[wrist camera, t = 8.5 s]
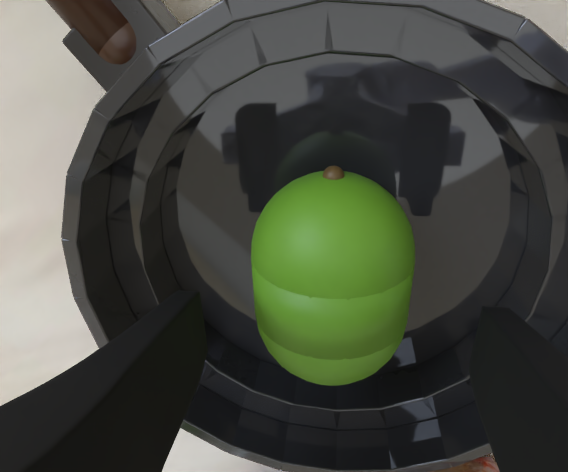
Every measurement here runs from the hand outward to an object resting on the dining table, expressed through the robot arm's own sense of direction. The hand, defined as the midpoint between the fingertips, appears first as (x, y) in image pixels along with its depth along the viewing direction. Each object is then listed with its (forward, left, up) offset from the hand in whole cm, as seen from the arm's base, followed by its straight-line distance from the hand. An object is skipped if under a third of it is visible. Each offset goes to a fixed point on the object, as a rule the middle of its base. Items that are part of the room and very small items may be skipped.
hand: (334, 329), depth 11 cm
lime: (0, 0, -5) cm, 5 cm away
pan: (0, 0, -5) cm, 5 cm away
